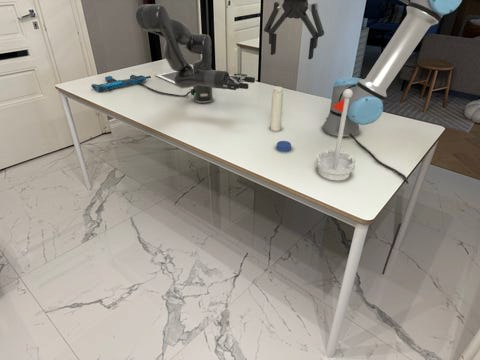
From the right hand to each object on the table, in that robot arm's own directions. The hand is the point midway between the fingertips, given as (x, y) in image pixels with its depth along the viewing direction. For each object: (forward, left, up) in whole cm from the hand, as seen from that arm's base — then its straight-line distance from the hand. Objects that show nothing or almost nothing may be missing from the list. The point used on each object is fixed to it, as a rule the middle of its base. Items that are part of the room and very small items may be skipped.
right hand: (291, 56), depth 116 cm
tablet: (+110, +9, -36) cm, 116 cm away
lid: (0, 0, -34) cm, 34 cm away
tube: (+18, -6, -36) cm, 40 cm away
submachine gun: (+116, +46, -36) cm, 130 cm away
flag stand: (-23, -6, -36) cm, 43 cm away
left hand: (+27, +2, -16) cm, 31 cm away
